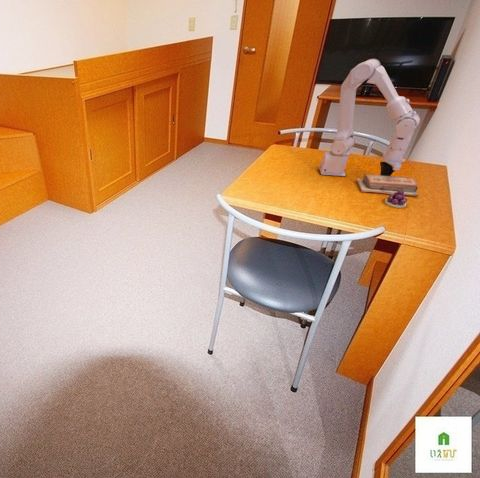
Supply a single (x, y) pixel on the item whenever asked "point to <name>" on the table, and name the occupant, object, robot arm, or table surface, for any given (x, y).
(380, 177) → the packaged product
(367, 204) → the table surface
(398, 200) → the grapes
